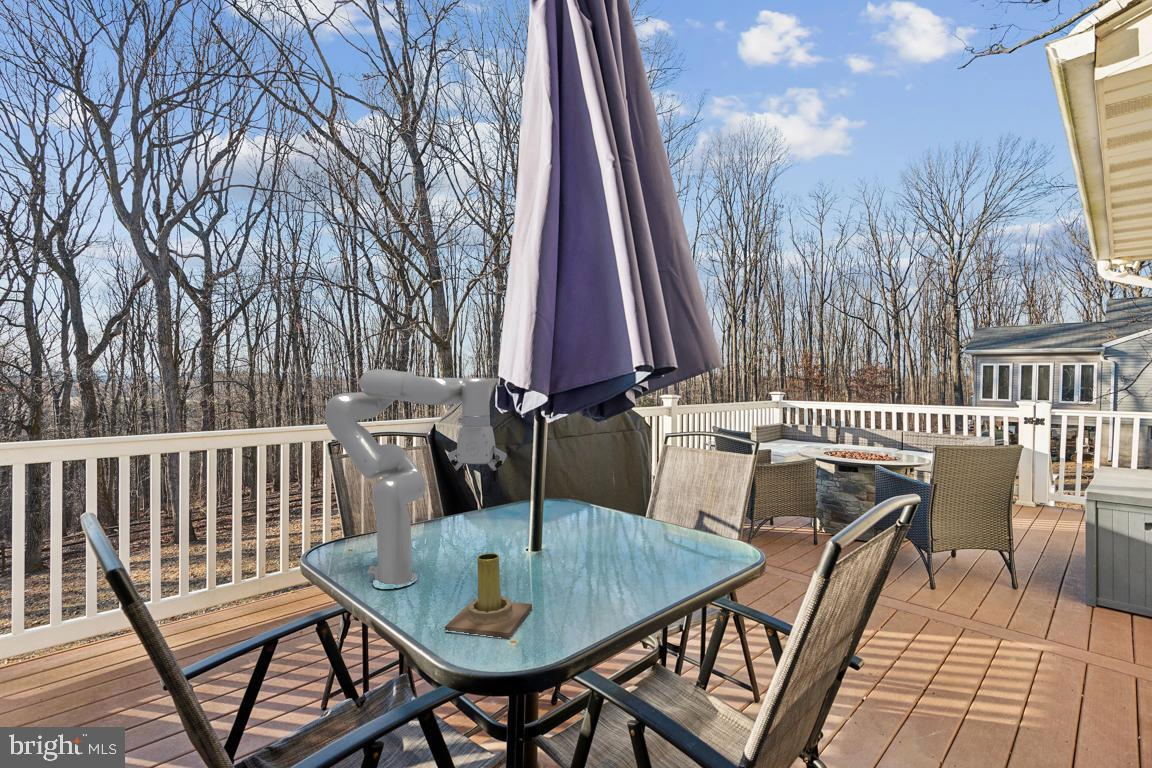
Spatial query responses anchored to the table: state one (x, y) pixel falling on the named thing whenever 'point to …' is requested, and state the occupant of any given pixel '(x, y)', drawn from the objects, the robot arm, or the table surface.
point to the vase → (489, 582)
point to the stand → (490, 619)
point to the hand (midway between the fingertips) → (477, 483)
